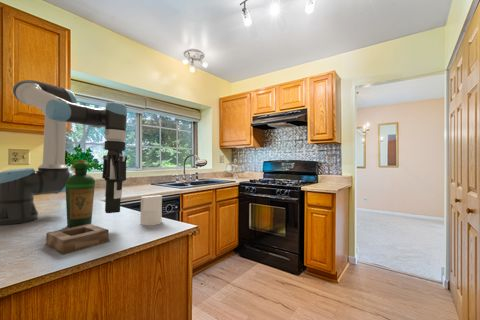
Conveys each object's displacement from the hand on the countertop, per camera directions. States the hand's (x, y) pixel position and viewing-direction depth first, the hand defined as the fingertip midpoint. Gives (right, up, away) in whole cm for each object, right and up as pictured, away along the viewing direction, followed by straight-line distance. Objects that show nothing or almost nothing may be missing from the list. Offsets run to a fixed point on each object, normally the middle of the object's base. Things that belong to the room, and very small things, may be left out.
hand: (113, 197), depth 91 cm
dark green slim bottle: (0, -6, 0) cm, 6 cm away
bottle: (-17, -13, +4) cm, 22 cm away
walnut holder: (-2, -13, -16) cm, 21 cm away
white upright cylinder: (+12, -14, +10) cm, 21 cm away
